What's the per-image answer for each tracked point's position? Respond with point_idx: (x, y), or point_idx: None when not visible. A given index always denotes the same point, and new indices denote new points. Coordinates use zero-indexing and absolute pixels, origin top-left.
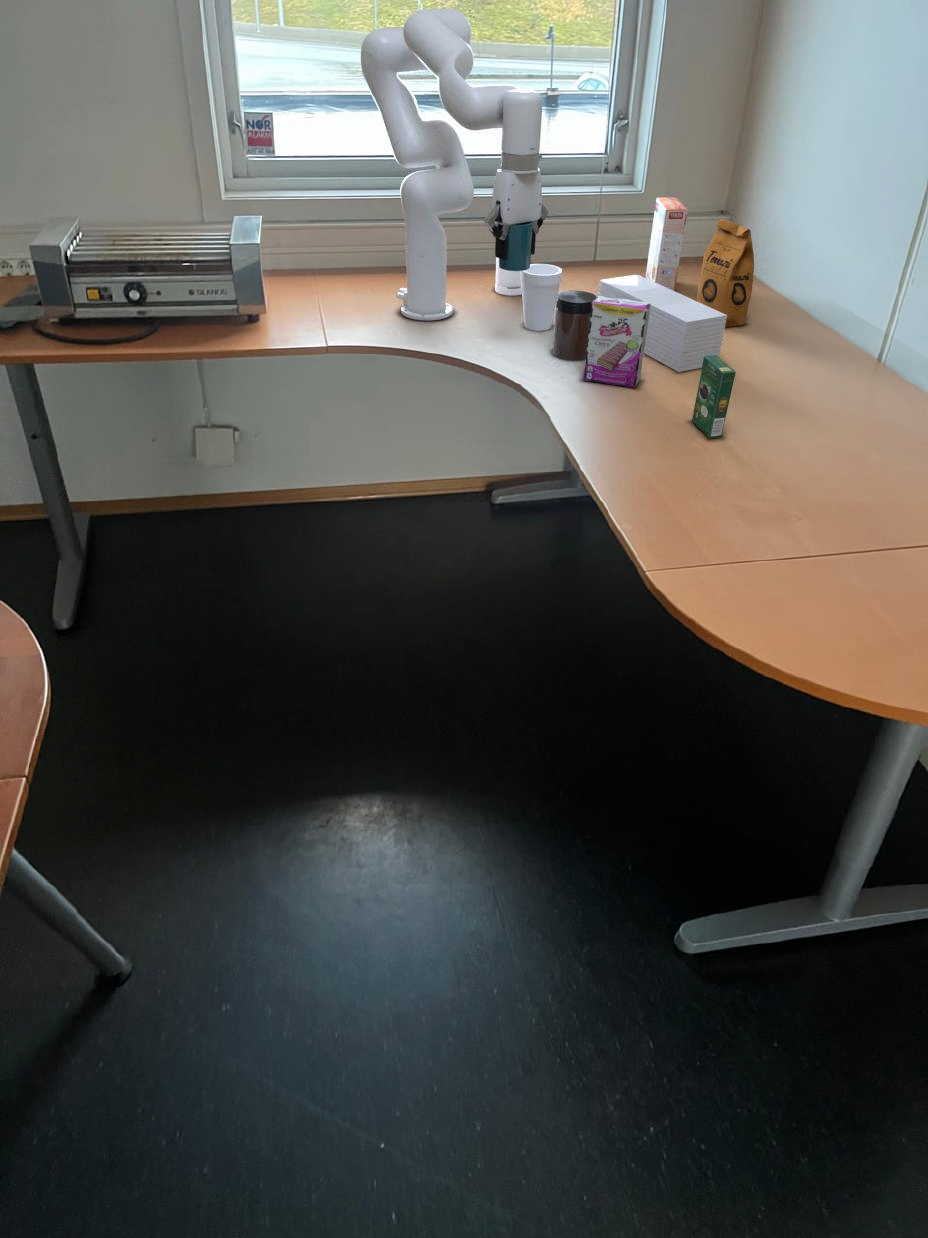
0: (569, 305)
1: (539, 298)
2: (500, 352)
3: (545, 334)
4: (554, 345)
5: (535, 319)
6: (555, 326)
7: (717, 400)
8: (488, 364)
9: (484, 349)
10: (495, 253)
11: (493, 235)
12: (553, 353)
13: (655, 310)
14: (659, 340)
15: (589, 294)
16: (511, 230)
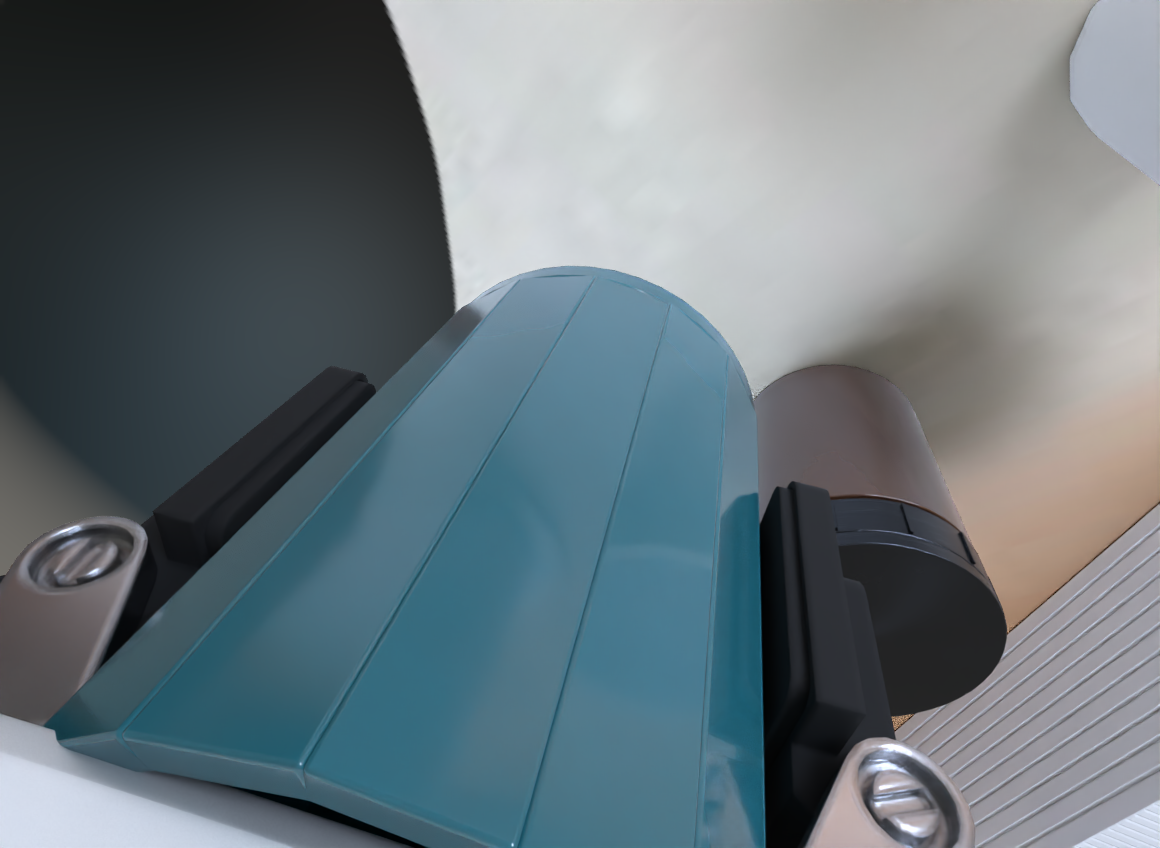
0: None
1: (1155, 164)
2: (611, 197)
3: (1026, 193)
4: (760, 414)
5: (1090, 106)
6: (767, 460)
7: None
8: (466, 257)
9: (583, 104)
10: (316, 381)
11: (56, 539)
12: (763, 391)
13: (1063, 829)
14: (983, 741)
15: (955, 671)
16: None
